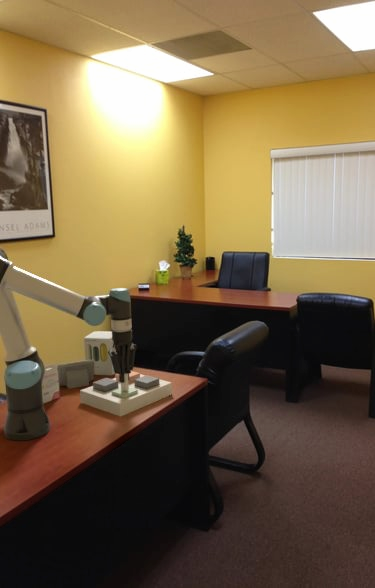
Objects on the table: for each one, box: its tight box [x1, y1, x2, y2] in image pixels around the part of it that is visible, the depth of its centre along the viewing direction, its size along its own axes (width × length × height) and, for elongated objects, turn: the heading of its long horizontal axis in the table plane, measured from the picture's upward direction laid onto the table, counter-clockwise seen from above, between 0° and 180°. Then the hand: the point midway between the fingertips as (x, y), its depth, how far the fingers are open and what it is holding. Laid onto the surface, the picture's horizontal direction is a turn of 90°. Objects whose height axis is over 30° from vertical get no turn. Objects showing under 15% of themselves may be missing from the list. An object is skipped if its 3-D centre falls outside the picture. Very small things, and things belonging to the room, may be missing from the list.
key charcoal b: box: [134, 374, 160, 390], centre depth 206 cm, size 7×7×5 cm
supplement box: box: [83, 330, 115, 376], centre depth 241 cm, size 13×13×18 cm
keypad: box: [79, 373, 173, 418], centre depth 206 cm, size 28×23×5 cm
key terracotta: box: [116, 370, 141, 383], centre depth 213 cm, size 7×7×5 cm
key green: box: [112, 387, 138, 399], centre depth 198 cm, size 7×7×5 cm
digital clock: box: [57, 359, 95, 390], centre depth 223 cm, size 16×9×11 cm, turn 103°
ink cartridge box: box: [42, 362, 61, 405], centre depth 206 cm, size 9×5×15 cm, turn 143°
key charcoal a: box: [92, 377, 118, 392], centre depth 204 cm, size 7×7×5 cm
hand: (124, 389), depth 197 cm, fingers closed
